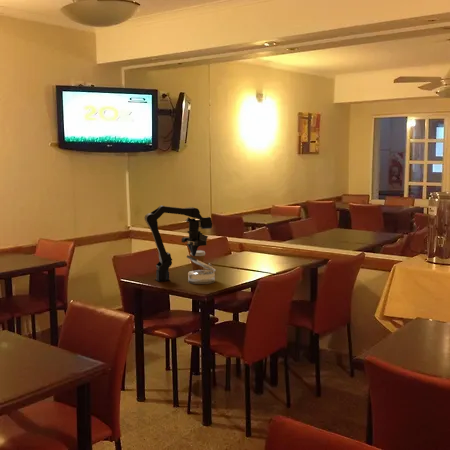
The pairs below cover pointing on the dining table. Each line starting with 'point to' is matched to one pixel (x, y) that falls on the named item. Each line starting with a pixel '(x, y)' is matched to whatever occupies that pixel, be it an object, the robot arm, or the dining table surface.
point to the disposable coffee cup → (199, 256)
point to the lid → (201, 263)
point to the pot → (201, 277)
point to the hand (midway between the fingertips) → (193, 256)
